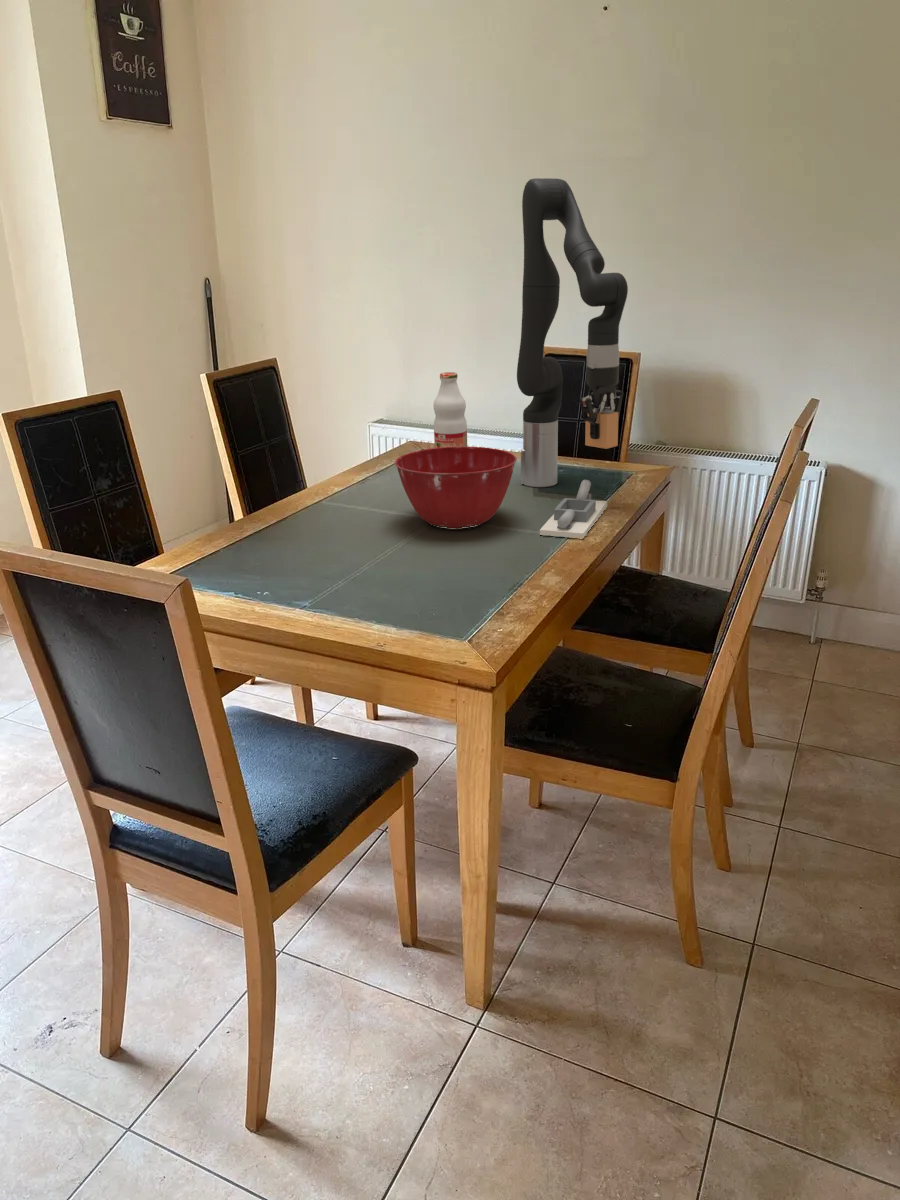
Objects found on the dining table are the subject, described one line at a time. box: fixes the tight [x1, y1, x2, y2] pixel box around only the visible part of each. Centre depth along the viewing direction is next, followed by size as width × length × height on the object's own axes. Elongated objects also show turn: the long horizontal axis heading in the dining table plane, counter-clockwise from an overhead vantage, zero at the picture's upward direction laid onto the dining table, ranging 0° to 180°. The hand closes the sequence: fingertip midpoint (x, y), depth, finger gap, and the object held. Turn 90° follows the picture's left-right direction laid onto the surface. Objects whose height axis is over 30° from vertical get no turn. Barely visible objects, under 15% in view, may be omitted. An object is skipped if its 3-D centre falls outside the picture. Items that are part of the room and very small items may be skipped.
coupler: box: [584, 408, 619, 450], centre depth 216 cm, size 6×4×9 cm, turn 43°
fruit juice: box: [433, 371, 468, 448], centre depth 255 cm, size 9×9×28 cm
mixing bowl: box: [394, 446, 518, 528], centre depth 214 cm, size 28×28×16 cm
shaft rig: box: [539, 479, 608, 539], centre depth 212 cm, size 10×26×7 cm, turn 159°
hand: (601, 436), depth 217 cm, fingers closed on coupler, 4 cm apart
